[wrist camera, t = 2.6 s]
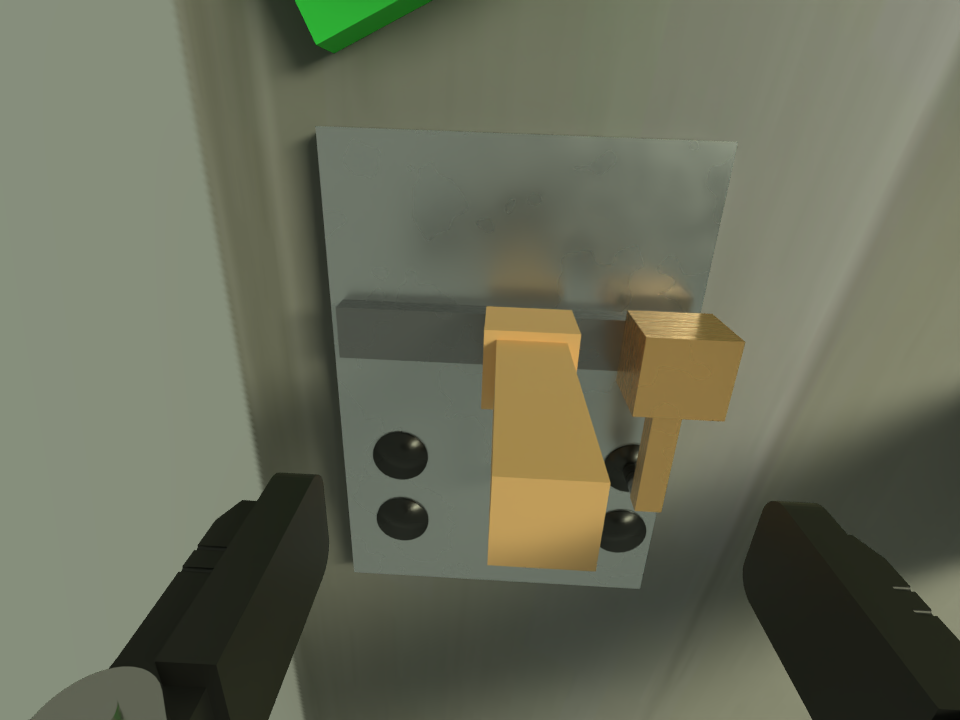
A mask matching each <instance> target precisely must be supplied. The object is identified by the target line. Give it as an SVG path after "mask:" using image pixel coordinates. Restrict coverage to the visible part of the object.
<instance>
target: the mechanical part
mask: <svg viewBox="0 0 960 720" xmlns="http://www.w3.org/2000/svg"><path fill="white" fill-rule="evenodd" d="M430 1H432V0H295V2H296V4H297V6H298V8H299V10H300V12H301V14H302V16H303V19H304V21H305V23H306V25H307V27H308V29H309V31H310V33H311V35H312V37H313V39H314V42H315V44H316V45H317V46H319V47H321V48H323V49H326V50H328V51H330V52H332V53H336V52H338V51H340V50H341V49H343V48H345V47H347V46H349V45H351V44H352V43H354V42H356V41H358V40H360V39H362V38H364V37H365V36H367V35H369V34H371V33H373V32H375V31H377V30H378V29H380V28H382V27H384V26H386V25H388V24H390V23H391V22H393V21H395V20H397V19H399V18H401V17H403V16H404V15H406V14H408V13H410V12H412V11H414V10H416V9H417V8H419V7H421V6H423V5H425V4H427V3H429V2H430Z"/></svg>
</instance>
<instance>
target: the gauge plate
mask: <svg viewBox="0 0 960 720" xmlns="http://www.w3.org/2000/svg"><path fill="white" fill-rule="evenodd" d="M315 127H316V139H317V150H318V162H319V173H320V185H321V196H322V208H323V219H324V231H325V242H326V254H327V265H328V277H329V288H330V300H331V311H332V323H333V334H334V346H335V357H336V368H337V380H338V391H339V403H340V414H341V426H342V437H343V449H344V460H345V472H346V483H347V495H348V506H349V518H350V529H351V541H352V552H353V564H354V572H362V573H379V574H396V575H413V576H430V577H447V578H464V579H480V580H497V581H514V582H531V583H548V584H565V585H582V586H599V587H616V588H633V589H640V586H641V582H642V577H643V573H644V568H645V563H646V559H647V554H648V550H649V545H650V541H651V536H652V532H653V527H654V523H655V518H656V513H657V512H661V510H662V506H663V502H664V497H665V493H666V488H667V484H668V479H669V475H670V470H671V466H672V461H673V457H674V452H675V448H676V444H677V439H678V435H679V430H680V426H681V421H682V419H688V420H708V421H725V417H726V414H727V410H728V406H729V402H730V398H731V395H732V391H733V387H734V383H735V379H736V376H737V372H738V368H739V364H740V360H741V357H742V353H743V349H744V345H745V341H743V340H742V339H741V338H740V337H739V336H737V335H736V334H735V333H734V332H733V331H732V330H730V329H729V328H728V327H727V326H726V325H725V324H723V323H722V322H721V321H720V320H719V319H718V318H716V317H715V316H714V315H713V314H702V313H701V308H702V304H703V299H704V295H705V290H706V286H707V281H708V277H709V272H710V267H711V263H712V258H713V254H714V249H715V245H716V240H717V236H718V231H719V226H720V222H721V217H722V213H723V208H724V204H725V199H726V195H727V190H728V185H729V181H730V176H731V172H732V167H733V163H734V158H735V154H736V149H737V145H738V142H726V141H699V140H673V139H646V138H619V137H593V136H566V135H540V134H513V133H486V132H460V131H433V130H407V129H380V128H353V127H327V126H315ZM487 306H493V307H515V308H537V309H559V310H572V312H573V314H574V317H575V320H576V322H577V325H578V327H579V330H580V332H581V341H580V349H579V358H578V366H577V376H578V379H579V382H580V385H581V389H582V392H583V395H584V398H585V402H586V405H587V408H588V411H589V415H590V418H591V421H592V424H593V427H594V431H595V434H596V437H597V440H598V444H599V447H600V450H601V453H602V457H603V460H604V463H605V466H606V470H607V473H608V476H609V479H610V482H611V484H610V490H609V496H608V501H607V507H606V513H605V519H604V525H603V531H602V537H601V543H600V549H599V555H598V561H597V567H596V572H595V571H578V570H561V569H543V568H526V567H509V566H492V565H487V561H488V534H489V507H490V481H491V454H492V427H493V410H492V409H481V397H482V372H483V347H484V327H485V317H486V307H487Z"/></svg>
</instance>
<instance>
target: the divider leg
mask: <svg viewBox="0 0 960 720" xmlns="http://www.w3.org/2000/svg"><path fill="white" fill-rule="evenodd" d="M580 341H581V332H580V330H579V327H578V325H577V322H576V320H575V317H574V314H573V312H572V310H559V309H537V308H515V307H493V306H487V307H486V317H485V327H484V347H483V372H482V397H481V409H492V410H493V427H492V454H491V481H490V507H489V534H488V561H487V565H492V566H509V567H526V568H543V569H561V570H578V571H595V572H596V567H597V561H598V555H599V549H600V543H601V537H602V531H603V525H604V519H605V513H606V507H607V501H608V496H609V490H610V484H611V482H610V479H609V476H608V473H607V470H606V466H605V463H604V460H603V457H602V453H601V450H600V447H599V444H598V440H597V437H596V434H595V431H594V427H593V424H592V421H591V418H590V415H589V411H588V408H587V405H586V402H585V398H584V395H583V392H582V389H581V385H580V382H579V379H578V376H577V366H578V358H579V349H580Z"/></svg>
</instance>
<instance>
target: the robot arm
mask: <svg viewBox="0 0 960 720" xmlns="http://www.w3.org/2000/svg"><path fill="white" fill-rule="evenodd" d="M328 551H329V536H328V526H327V516H326V506H325V496H324V486H323V480H322V478H321V476H320V475H313V474H295V473H276V474H275V475H274V476H273V477H272V478H271V480H270V481H269V483H268V485H267V486H266V488H265V489H264V491H263V492H262V494H261V496H260V497H259V499H258V500H257V501H246V500H242V501H241V502H239V503H238V504H236V505H235V506H234V507H233V508H231V509H230V510H228V511H227V512H226V513H225V514H223V515H222V516H221V517H220V518H218V519H217V520H216V521H215V522H214V523H213V524H212V526H211V527H210V529H209V530H208V532H207V533H206V534H205V536H204V537H203V539H202V540H201V541H200V543H199V544H198V548H197V550H194V551H193V553H192V554H191V555H190V557H189V558H188V560H187V561H186V562H185V564H184V565H183V569H182V571H181V572H178V573H177V575H176V576H175V578H174V579H173V581H172V582H171V583H170V585H169V586H168V587H167V589H166V590H165V592H164V593H163V594H162V596H161V597H160V599H159V600H158V601H157V603H156V604H155V606H154V607H153V608H152V610H151V611H150V613H149V614H148V615H147V617H146V619H145V620H144V621H143V623H142V624H141V625H140V627H139V628H138V630H137V631H136V632H135V634H134V635H133V637H132V638H131V639H130V641H129V642H128V644H127V645H126V646H125V648H124V649H123V650H122V652H121V653H120V655H119V656H118V658H117V659H116V660H115V661H114V663H113V664H112V665H111V666H110V668H109V669H106V670H103V671H100V672H97V673H94V674H92V675H89V676H87V677H85V678H83V679H81V680H79V681H77V682H75V683H74V684H72V685H71V686H69V687H67V688H66V689H64V690H63V691H61V692H60V693H59V694H57V695H56V696H55V697H53V698H52V699H51V700H50V701H49V702H48V703H46V704H45V705H44V706H43V707H42V708H41V709H40V710H39V711H38V712H37V713H36V714H35V715H34V716H33V717H32V718H31V719H30V720H268V719H269V716H270V714H271V711H272V708H273V706H274V703H275V701H276V698H277V695H278V693H279V690H280V688H281V685H282V682H283V680H284V677H285V674H286V672H287V669H288V667H289V664H290V662H291V659H292V656H293V654H294V651H295V649H296V646H297V643H298V641H299V638H300V635H301V633H302V630H303V628H304V625H305V622H306V620H307V617H308V615H309V612H310V609H311V607H312V604H313V602H314V599H315V596H316V594H317V591H318V589H319V586H320V583H321V581H322V578H323V575H324V572H325V569H326V564H327V559H328ZM743 583H744V589H745V592H746V595H747V598H748V600H749V603H750V604H751V606H752V608H753V610H754V612H755V614H756V616H757V617H758V619H759V621H760V623H761V625H762V627H763V629H764V630H765V632H766V634H767V636H768V638H769V640H770V642H771V644H772V645H773V647H774V649H775V651H776V653H777V655H778V657H779V658H780V660H781V662H782V664H783V666H784V668H785V670H786V671H787V673H788V675H789V677H790V679H791V681H792V683H793V684H794V686H795V688H796V690H797V692H798V694H799V696H800V697H801V699H802V701H803V703H804V705H805V707H806V709H807V710H808V712H809V714H810V716H811V718H812V720H960V641H959V640H958V639H957V637H956V636H955V635H954V634H953V633H952V632H951V631H950V630H949V629H948V627H947V626H946V625H945V624H944V623H943V622H942V621H941V620H940V619H939V618H938V616H933V615H932V613H931V609H930V608H929V607H928V605H927V604H926V603H925V602H924V601H923V600H922V599H921V598H920V597H919V596H918V594H917V593H916V592H911V590H910V586H909V585H908V583H907V582H906V581H905V580H904V579H903V578H902V577H901V576H900V575H899V574H898V572H897V571H896V570H895V569H894V568H893V567H892V566H891V565H890V564H889V563H888V561H887V560H886V559H885V558H883V557H882V556H881V555H879V554H878V553H876V552H875V551H874V550H872V549H871V548H869V547H868V546H867V545H865V544H864V543H862V542H861V541H860V540H858V539H857V538H855V537H854V536H853V535H847V534H846V532H845V531H844V530H843V529H842V528H841V527H840V526H839V524H838V523H837V522H836V521H835V520H834V519H833V518H832V516H831V515H830V514H829V513H828V512H827V511H826V510H825V509H824V508H823V507H822V506H821V505H819V504H816V503H803V502H784V501H770V502H768V503H767V504H766V505H765V507H764V509H763V511H762V514H761V516H760V519H759V522H758V525H757V528H756V531H755V534H754V536H753V539H752V542H751V545H750V548H749V551H748V554H747V557H746V559H745V562H744V567H743Z"/></svg>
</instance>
